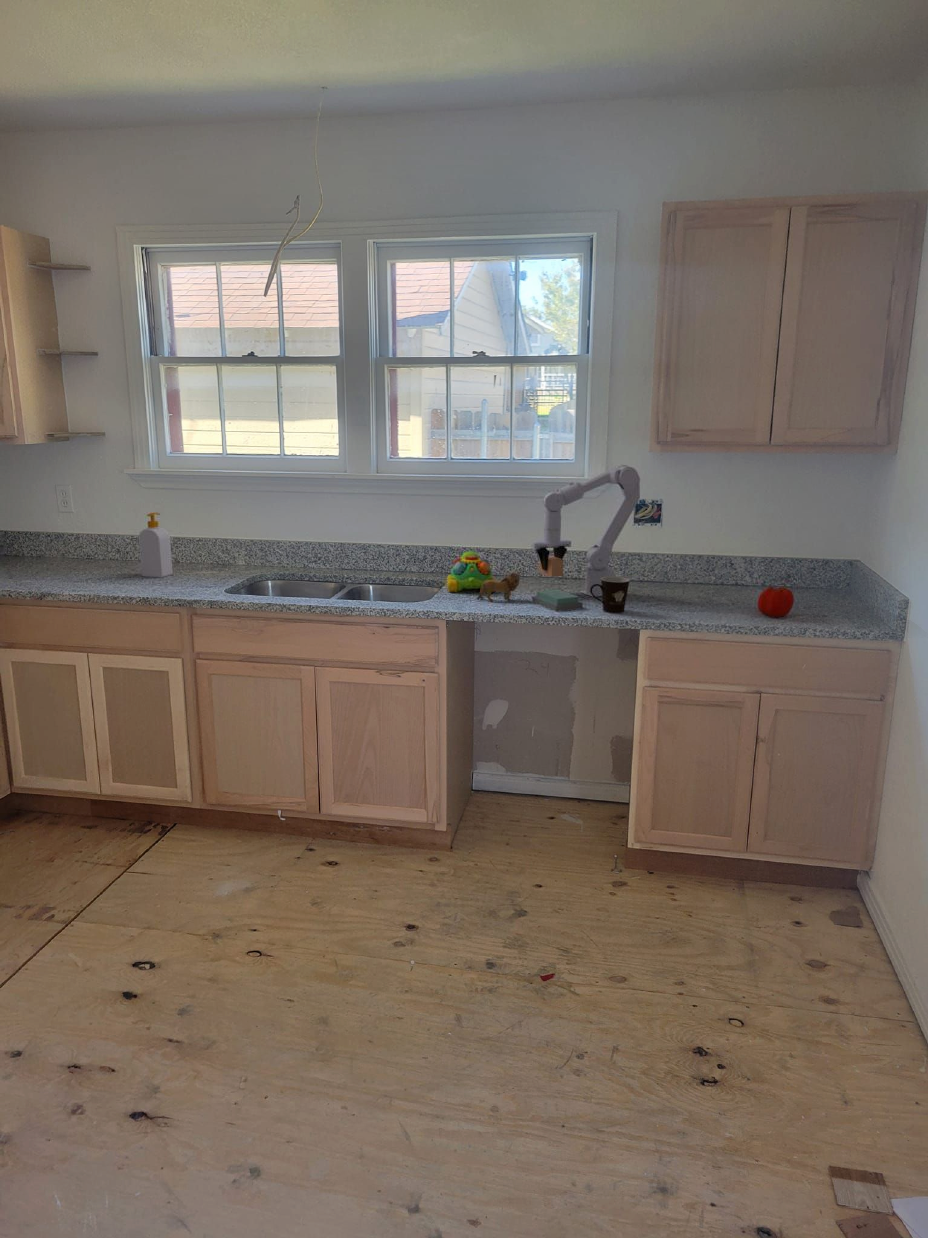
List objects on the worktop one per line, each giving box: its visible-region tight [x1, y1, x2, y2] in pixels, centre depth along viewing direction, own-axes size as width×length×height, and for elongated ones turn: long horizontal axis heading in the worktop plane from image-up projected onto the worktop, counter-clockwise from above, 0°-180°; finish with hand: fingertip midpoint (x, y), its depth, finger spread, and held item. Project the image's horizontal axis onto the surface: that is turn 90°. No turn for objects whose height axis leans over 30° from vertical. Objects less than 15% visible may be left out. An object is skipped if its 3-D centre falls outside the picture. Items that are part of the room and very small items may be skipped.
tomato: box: [757, 586, 795, 618], centre depth 253 cm, size 11×11×9 cm
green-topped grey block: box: [531, 588, 584, 612], centre depth 265 cm, size 10×14×4 cm
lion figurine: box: [476, 571, 520, 602], centre depth 271 cm, size 15×5×9 cm, turn 107°
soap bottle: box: [138, 512, 174, 579], centre depth 302 cm, size 9×7×23 cm
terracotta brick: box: [538, 555, 564, 578], centre depth 279 cm, size 4×8×6 cm, turn 27°
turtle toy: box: [446, 551, 496, 593], centre depth 289 cm, size 17×23×12 cm
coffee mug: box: [590, 576, 630, 614], centre depth 258 cm, size 12×9×10 cm
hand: (550, 569), depth 279 cm, fingers closed on terracotta brick, 4 cm apart
